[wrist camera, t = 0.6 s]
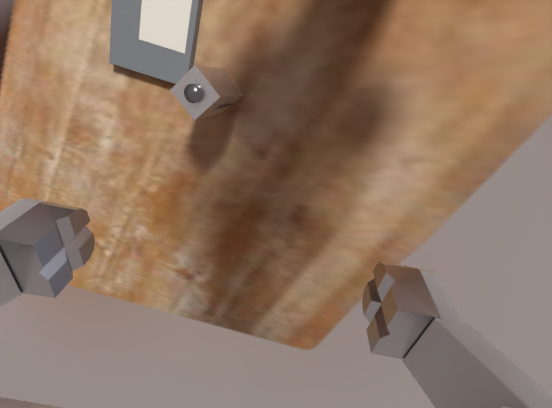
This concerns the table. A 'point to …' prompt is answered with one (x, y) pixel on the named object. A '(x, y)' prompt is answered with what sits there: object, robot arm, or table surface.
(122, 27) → the dock board
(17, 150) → the table surface
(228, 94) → the aluminium block
